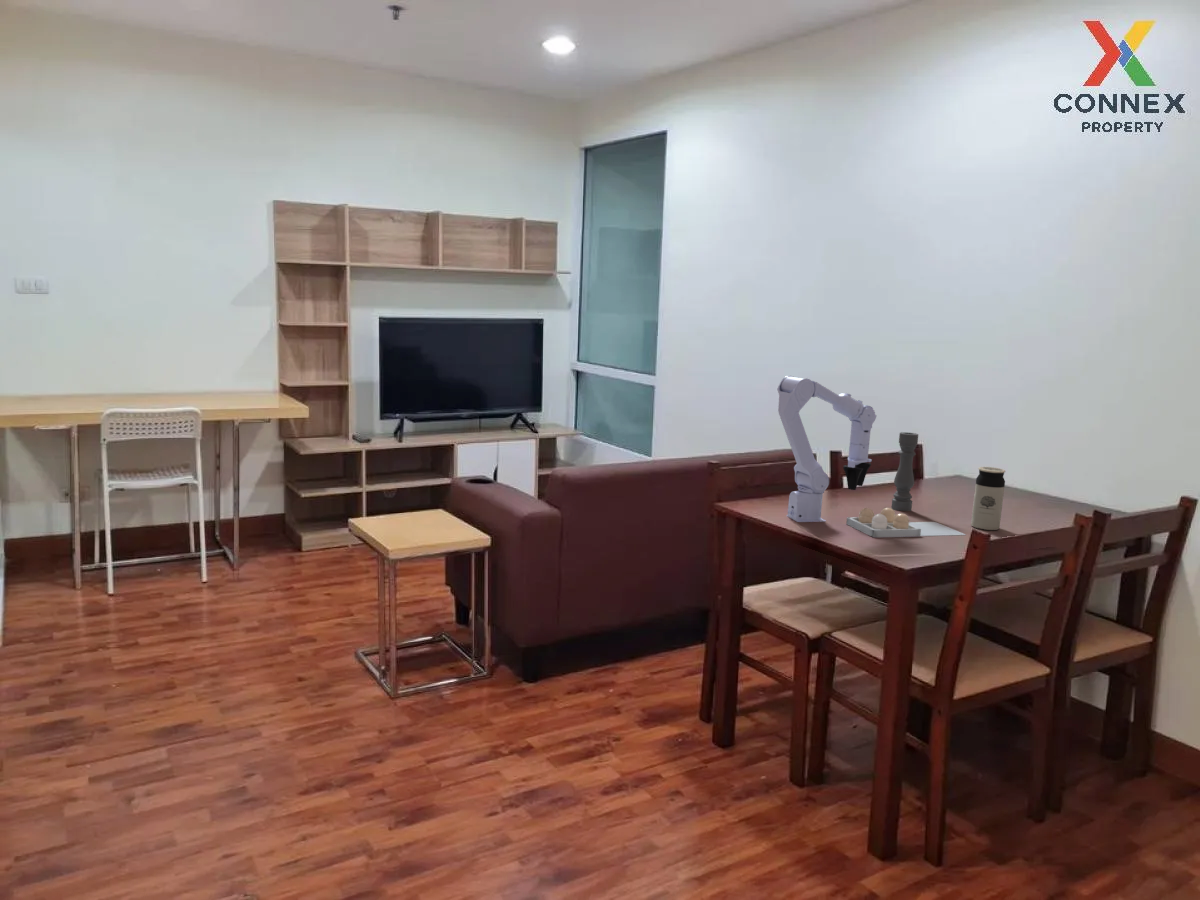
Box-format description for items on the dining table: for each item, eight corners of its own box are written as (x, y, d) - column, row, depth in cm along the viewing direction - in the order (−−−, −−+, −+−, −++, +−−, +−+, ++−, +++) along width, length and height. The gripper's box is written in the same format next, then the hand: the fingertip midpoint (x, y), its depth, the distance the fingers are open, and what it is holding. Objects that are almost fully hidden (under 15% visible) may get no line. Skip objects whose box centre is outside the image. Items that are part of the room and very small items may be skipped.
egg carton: (873, 539, 253) (873, 530, 253) (846, 525, 267) (846, 517, 267) (966, 536, 261) (966, 528, 260) (934, 523, 275) (935, 515, 274)
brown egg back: (897, 534, 257) (899, 515, 256) (889, 531, 261) (891, 511, 260) (910, 534, 258) (912, 515, 257) (902, 530, 262) (904, 511, 261)
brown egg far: (884, 528, 264) (886, 509, 263) (876, 524, 268) (878, 506, 267) (897, 528, 265) (898, 509, 264) (889, 524, 269) (891, 506, 268)
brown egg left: (862, 529, 262) (864, 509, 261) (855, 525, 266) (857, 506, 265) (875, 528, 263) (877, 509, 262) (868, 525, 267) (869, 506, 266)
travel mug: (975, 522, 278) (982, 465, 275) (1002, 527, 274) (1009, 469, 271) (967, 527, 272) (974, 468, 269) (994, 532, 267) (1001, 472, 264)
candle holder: (907, 508, 295) (914, 432, 290) (914, 512, 289) (922, 435, 284) (888, 507, 294) (895, 431, 290) (895, 512, 288) (903, 434, 284)
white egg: (875, 535, 255) (877, 515, 254) (867, 531, 259) (869, 512, 258) (888, 535, 256) (890, 515, 255) (880, 531, 260) (882, 512, 259)
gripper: (866, 448, 266) (862, 493, 269) (878, 442, 279) (874, 485, 281) (842, 445, 270) (838, 489, 272) (855, 439, 282) (851, 482, 284)
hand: (855, 487), depth 277 cm, fingers open, 7 cm apart
